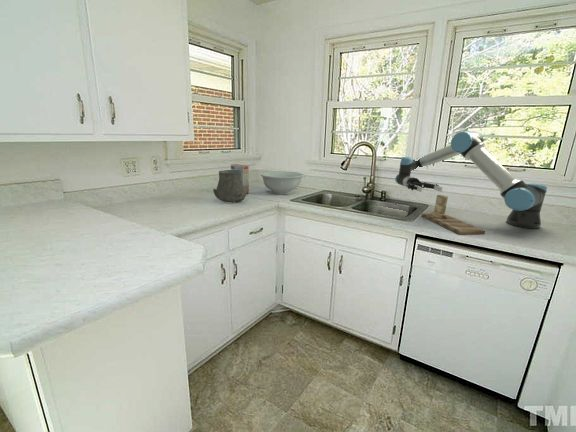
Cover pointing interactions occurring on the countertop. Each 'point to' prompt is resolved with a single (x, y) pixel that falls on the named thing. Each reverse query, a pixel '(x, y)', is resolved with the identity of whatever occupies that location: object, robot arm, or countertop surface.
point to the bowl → (281, 181)
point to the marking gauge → (440, 207)
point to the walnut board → (454, 224)
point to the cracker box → (243, 175)
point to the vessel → (230, 186)
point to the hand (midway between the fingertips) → (431, 189)
